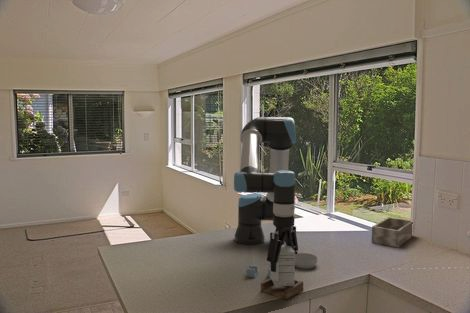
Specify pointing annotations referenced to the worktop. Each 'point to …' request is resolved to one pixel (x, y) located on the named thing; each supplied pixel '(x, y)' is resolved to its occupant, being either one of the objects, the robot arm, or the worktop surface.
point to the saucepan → (305, 260)
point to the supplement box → (286, 267)
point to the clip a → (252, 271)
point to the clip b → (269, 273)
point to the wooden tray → (282, 289)
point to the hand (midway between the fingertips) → (282, 275)
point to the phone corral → (392, 232)
